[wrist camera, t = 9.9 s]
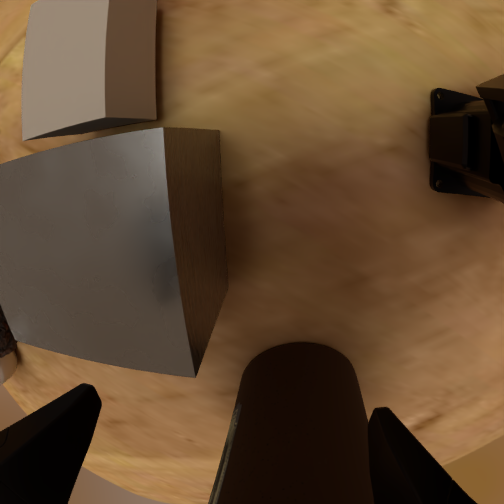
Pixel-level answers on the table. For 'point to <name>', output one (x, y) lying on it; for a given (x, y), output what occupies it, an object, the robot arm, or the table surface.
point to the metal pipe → (6, 336)
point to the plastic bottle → (7, 366)
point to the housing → (116, 248)
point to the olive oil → (296, 432)
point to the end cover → (88, 66)
